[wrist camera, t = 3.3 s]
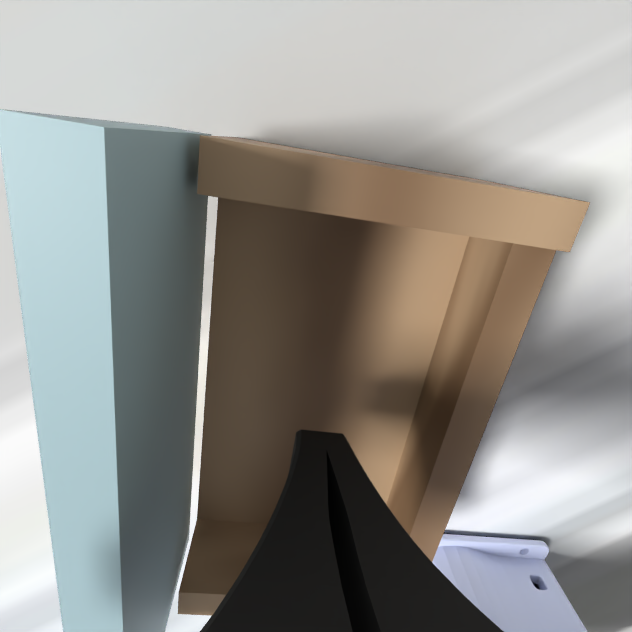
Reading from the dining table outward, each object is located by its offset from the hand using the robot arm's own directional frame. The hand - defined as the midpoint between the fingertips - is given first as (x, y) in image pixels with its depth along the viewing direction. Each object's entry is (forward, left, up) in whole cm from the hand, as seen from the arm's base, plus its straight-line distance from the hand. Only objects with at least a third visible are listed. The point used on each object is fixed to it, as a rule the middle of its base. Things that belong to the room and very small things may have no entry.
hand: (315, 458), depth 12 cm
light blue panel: (+4, 0, -3) cm, 5 cm away
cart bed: (-1, 0, -6) cm, 6 cm away
